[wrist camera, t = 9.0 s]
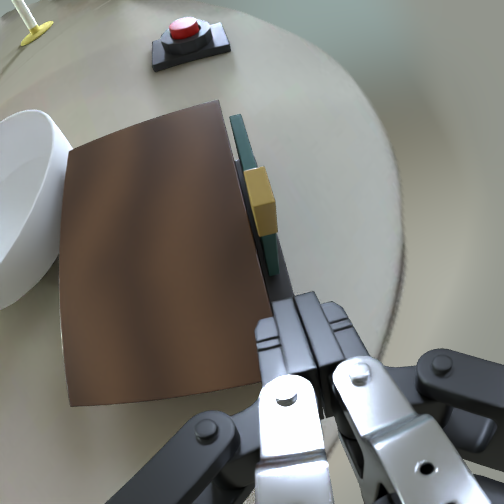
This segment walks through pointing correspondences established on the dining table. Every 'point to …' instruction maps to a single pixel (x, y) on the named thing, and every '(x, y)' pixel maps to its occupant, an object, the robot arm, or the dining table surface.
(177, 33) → the button
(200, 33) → the switch box
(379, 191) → the dining table surface
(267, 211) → the door
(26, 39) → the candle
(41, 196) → the bowl
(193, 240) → the cabinet
